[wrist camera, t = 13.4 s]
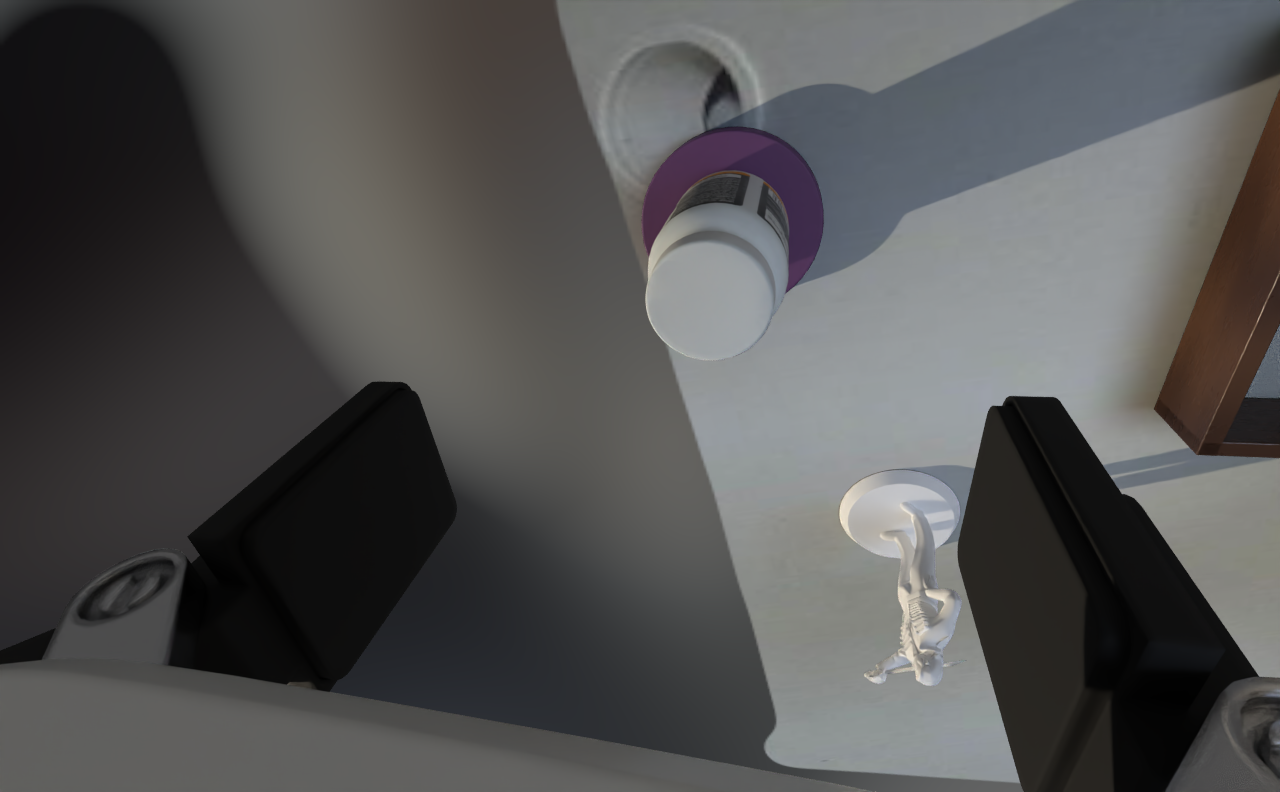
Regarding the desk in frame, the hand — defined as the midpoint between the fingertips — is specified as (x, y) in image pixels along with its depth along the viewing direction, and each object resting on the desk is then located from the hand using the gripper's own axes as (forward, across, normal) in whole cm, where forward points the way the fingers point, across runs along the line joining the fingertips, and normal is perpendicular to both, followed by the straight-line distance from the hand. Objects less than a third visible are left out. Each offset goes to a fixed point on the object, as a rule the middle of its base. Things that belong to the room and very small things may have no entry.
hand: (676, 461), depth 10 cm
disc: (+23, +2, +2) cm, 23 cm away
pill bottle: (+22, +1, +2) cm, 22 cm away
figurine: (+23, -8, +22) cm, 33 cm away
